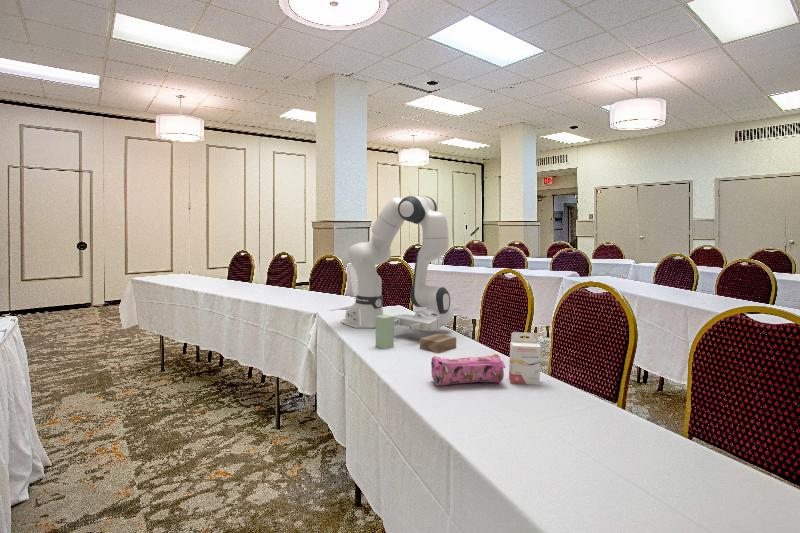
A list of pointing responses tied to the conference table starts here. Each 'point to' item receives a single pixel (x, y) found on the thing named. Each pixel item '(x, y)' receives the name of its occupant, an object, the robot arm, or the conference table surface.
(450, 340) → the walnut block
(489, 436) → the conference table surface
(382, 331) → the sage pillar block
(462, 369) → the pencil case
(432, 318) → the robot arm
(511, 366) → the ink cartridge box
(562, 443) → the conference table surface
